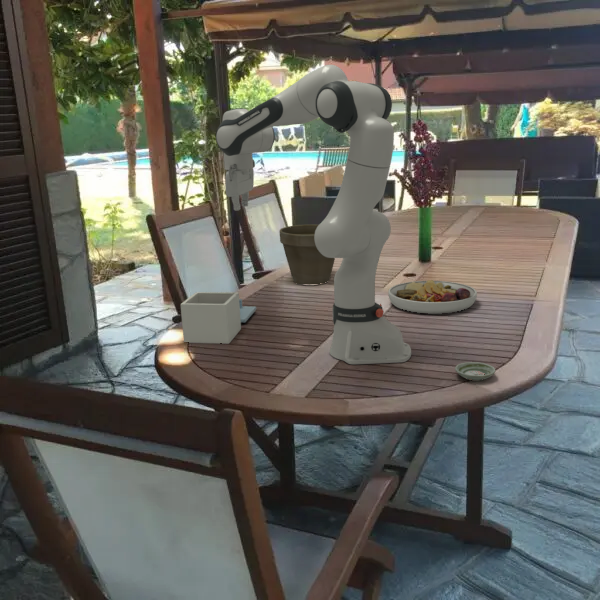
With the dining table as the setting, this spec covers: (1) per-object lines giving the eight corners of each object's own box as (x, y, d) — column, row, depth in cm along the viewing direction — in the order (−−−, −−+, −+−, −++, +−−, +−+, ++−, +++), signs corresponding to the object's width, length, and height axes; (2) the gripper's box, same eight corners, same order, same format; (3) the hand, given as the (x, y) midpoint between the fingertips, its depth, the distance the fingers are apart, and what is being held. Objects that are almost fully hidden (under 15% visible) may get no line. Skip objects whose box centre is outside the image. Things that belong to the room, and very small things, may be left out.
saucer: (471, 367, 166) (471, 358, 165) (503, 378, 158) (503, 368, 158) (446, 377, 160) (446, 367, 159) (478, 388, 153) (479, 378, 152)
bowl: (371, 307, 223) (370, 285, 221) (418, 289, 244) (418, 269, 242) (447, 322, 203) (448, 299, 201) (492, 302, 224) (493, 280, 222)
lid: (256, 312, 221) (255, 298, 220) (245, 325, 207) (244, 310, 206) (214, 311, 224) (213, 297, 222) (201, 324, 210) (199, 309, 208)
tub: (241, 329, 203) (238, 292, 200) (228, 343, 190) (226, 304, 187) (198, 328, 206) (195, 292, 203) (183, 342, 193) (180, 304, 189)
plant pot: (355, 281, 258) (354, 228, 252) (306, 292, 244) (304, 236, 238) (316, 271, 278) (315, 222, 272) (269, 281, 263) (267, 229, 258)
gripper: (239, 165, 188) (242, 212, 192) (256, 161, 207) (258, 204, 211) (218, 166, 189) (222, 212, 193) (237, 161, 209) (239, 204, 212)
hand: (241, 208), depth 202 cm, fingers open, 8 cm apart
